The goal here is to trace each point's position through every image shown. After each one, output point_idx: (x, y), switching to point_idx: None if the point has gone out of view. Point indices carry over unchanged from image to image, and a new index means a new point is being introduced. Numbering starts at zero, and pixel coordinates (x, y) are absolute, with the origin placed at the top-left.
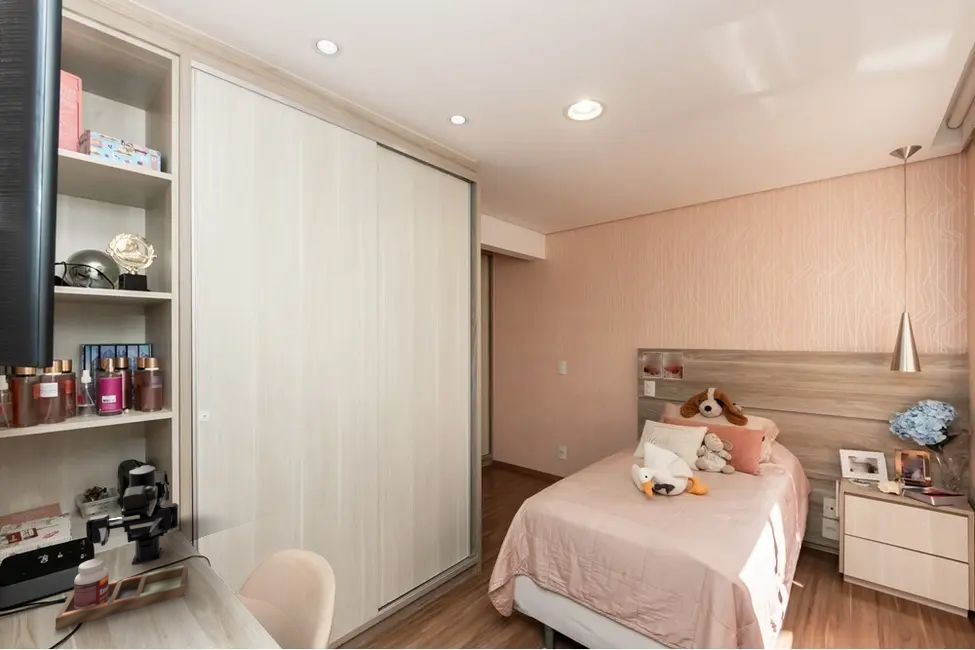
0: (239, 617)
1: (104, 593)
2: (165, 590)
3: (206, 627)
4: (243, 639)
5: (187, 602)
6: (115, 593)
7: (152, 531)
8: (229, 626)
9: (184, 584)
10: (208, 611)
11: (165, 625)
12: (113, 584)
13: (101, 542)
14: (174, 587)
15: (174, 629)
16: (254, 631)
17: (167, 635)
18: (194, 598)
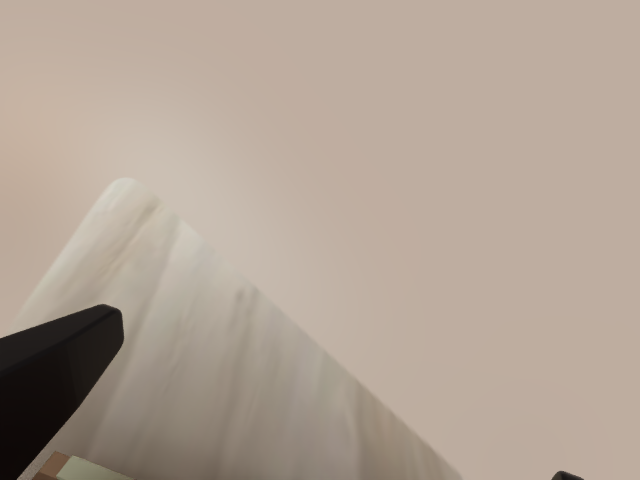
0: (85, 239)
1: None
2: (130, 478)
3: (157, 259)
4: (141, 189)
5: (98, 414)
6: None
7: (77, 317)
8: (125, 230)
9: (43, 468)
10: None
11: (219, 339)
12: None
13: (577, 477)
14: (93, 464)
15: (212, 305)
16: (110, 191)
17: (235, 296)
18: None
